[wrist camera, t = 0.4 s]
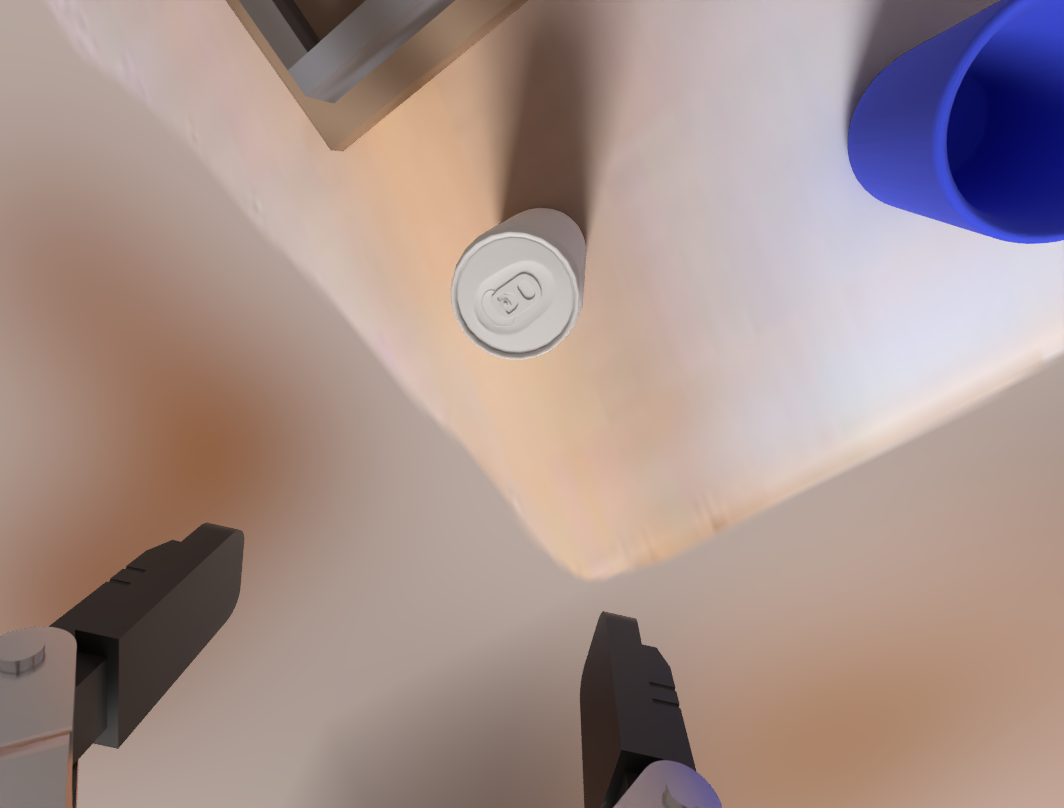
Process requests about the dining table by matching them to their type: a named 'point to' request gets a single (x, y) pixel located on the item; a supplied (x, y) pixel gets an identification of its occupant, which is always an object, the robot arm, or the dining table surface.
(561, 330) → the beverage can
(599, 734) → the robot arm
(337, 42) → the can holder
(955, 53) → the mug
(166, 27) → the dining table surface
